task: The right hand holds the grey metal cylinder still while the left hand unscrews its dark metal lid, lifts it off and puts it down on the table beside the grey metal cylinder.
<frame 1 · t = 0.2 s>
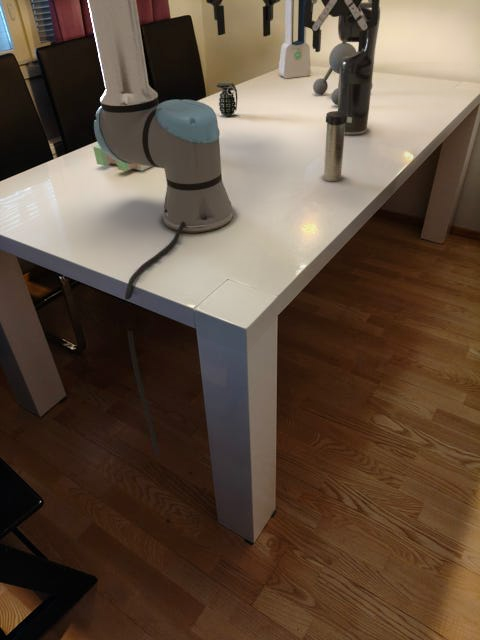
left hand: (243, 35, 129), 28 cm above the table, tool pointing down, fingers open, 13 cm apart
right hand: (338, 51, 98), 29 cm above the table, tool pointing down, fingers open, 8 cm apart
grenade: (228, 115, 169), on the table
lid: (336, 115, 112), point 15 cm above the table, screwed on, not yet turned
electronic device: (294, 75, 214), on the table
decorative block: (145, 157, 140), on the table
molecular model: (345, 97, 181), on the table
grey metal cylinder: (332, 178, 121), on the table
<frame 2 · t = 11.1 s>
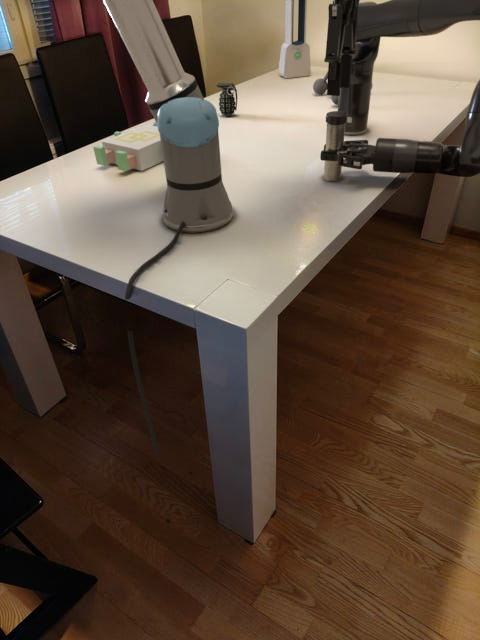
left hand: (338, 90, 109), 20 cm above the table, tool pointing down, fingers open, 7 cm apart
right hand: (322, 151, 118), 6 cm above the table, tool horizontal, fingers closed on grey metal cylinder, 4 cm apart
grey metal cylinder: (332, 178, 121), on the table, touching right hand
everything else where it was.
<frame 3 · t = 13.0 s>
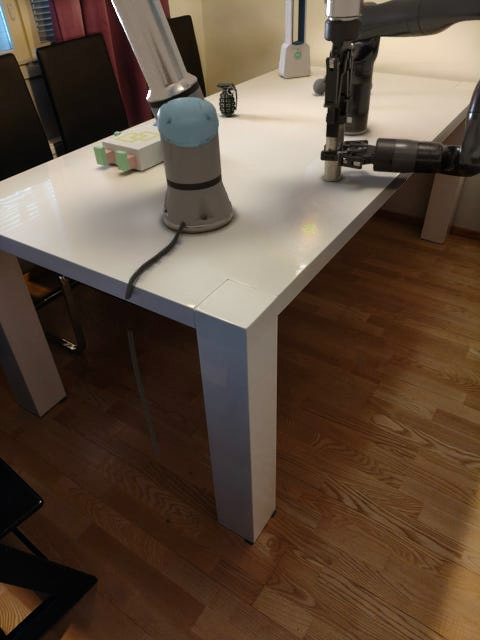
left hand: (335, 133, 115), 11 cm above the table, tool pointing down, fingers closed on lid, 5 cm apart
right hand: (322, 151, 118), 6 cm above the table, tool horizontal, fingers closed on grey metal cylinder, 4 cm apart
lid: (336, 115, 112), point 15 cm above the table, screwed on, not yet turned, touching left hand
grey metal cylinder: (332, 178, 121), on the table, touching right hand
everything else where it was.
when the left hand's fingers open (0 cm above the table, at t = 29.9 s): lid drops 3 cm, point 1 cm above the table.
when the right hand's fingers open (6 cm above the table, at t = 30.5 s): grey metal cylinder stays where it is, on the table.
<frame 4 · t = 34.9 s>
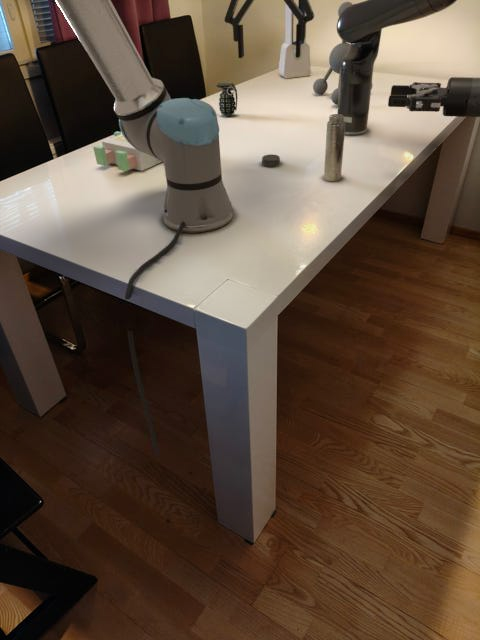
left hand: (269, 56, 115), 26 cm above the table, tool pointing down, fingers open, 13 cm apart
right hand: (389, 95, 106), 19 cm above the table, tool horizontal, fingers open, 8 cm apart
lid: (270, 158, 130), point 1 cm above the table, off its thread
grey metal cylinder: (332, 178, 121), on the table
everything else where it was.
at the end: lid came off its thread; lid point 1.4 cm above the table; the left hand is holding nothing; the right hand is holding nothing; grey metal cylinder tilted 0°; grey metal cylinder moved 0.0 cm from its start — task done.
